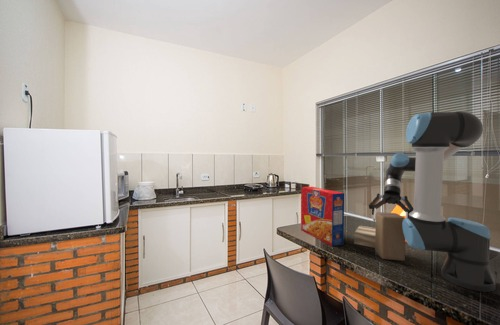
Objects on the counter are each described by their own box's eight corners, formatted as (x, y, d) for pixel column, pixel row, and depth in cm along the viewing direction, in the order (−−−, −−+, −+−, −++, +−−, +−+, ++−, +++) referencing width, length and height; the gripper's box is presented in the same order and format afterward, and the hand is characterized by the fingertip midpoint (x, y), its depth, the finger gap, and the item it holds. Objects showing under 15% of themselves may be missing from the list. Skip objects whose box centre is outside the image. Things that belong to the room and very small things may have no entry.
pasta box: (301, 230, 146) (301, 187, 146) (311, 228, 149) (311, 186, 149) (331, 246, 120) (332, 193, 120) (343, 244, 123) (344, 193, 123)
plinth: (383, 249, 116) (383, 238, 116) (353, 243, 125) (354, 232, 124) (386, 240, 130) (386, 229, 129) (359, 235, 138) (359, 225, 137)
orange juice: (404, 236, 136) (405, 203, 136) (413, 242, 127) (414, 206, 127) (390, 236, 137) (391, 203, 136) (398, 241, 128) (399, 206, 127)
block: (405, 261, 103) (406, 218, 103) (381, 259, 105) (382, 216, 105) (396, 252, 113) (397, 212, 112) (374, 250, 115) (375, 211, 114)
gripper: (420, 195, 120) (420, 231, 108) (367, 191, 134) (362, 222, 123) (421, 186, 115) (421, 222, 104) (366, 182, 130) (361, 214, 118)
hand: (389, 222), depth 113 cm, fingers open, 13 cm apart
